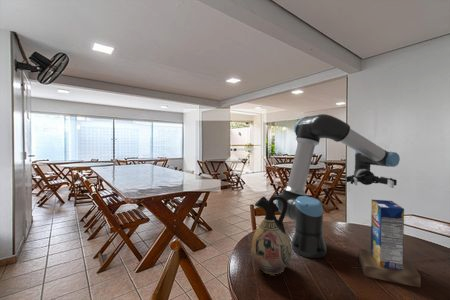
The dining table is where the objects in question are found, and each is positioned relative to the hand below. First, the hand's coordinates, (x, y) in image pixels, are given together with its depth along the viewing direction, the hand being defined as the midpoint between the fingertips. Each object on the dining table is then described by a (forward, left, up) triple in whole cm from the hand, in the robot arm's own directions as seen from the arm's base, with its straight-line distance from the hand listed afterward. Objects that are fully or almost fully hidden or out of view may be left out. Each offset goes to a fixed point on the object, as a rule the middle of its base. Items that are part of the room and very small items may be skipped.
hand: (374, 183), depth 96 cm
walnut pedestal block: (+1, -16, -31) cm, 34 cm away
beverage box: (+1, -16, -27) cm, 31 cm away
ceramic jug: (-39, -32, -31) cm, 59 cm away
